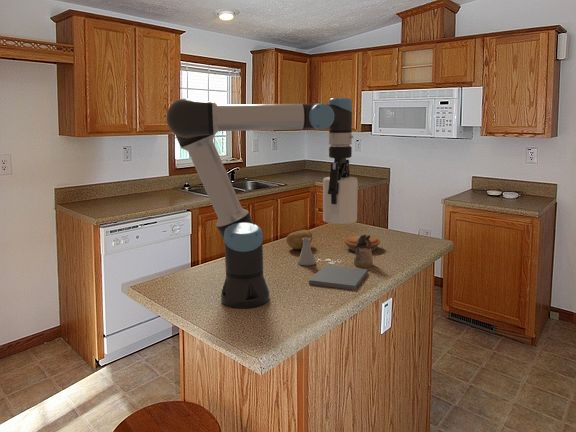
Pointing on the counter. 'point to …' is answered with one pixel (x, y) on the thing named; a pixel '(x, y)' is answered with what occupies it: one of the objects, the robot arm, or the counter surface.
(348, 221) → the white cylinder
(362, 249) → the figurine
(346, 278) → the slate board
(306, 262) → the flask
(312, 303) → the counter surface
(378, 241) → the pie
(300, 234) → the potato
